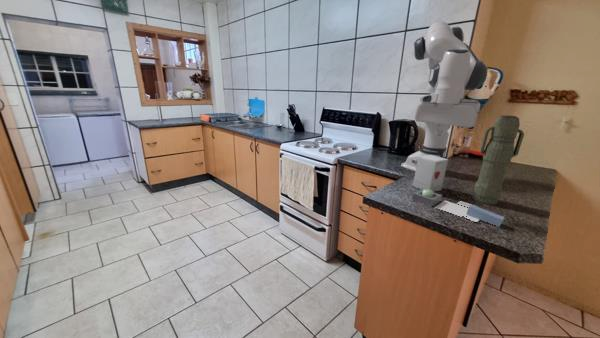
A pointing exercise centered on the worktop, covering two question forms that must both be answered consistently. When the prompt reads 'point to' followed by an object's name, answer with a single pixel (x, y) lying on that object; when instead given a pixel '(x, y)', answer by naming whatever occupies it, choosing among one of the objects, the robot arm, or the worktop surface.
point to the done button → (427, 193)
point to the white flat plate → (455, 210)
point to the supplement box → (430, 172)
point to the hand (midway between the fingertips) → (439, 136)
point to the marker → (485, 215)
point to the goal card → (464, 204)
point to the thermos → (497, 158)
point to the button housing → (427, 198)
